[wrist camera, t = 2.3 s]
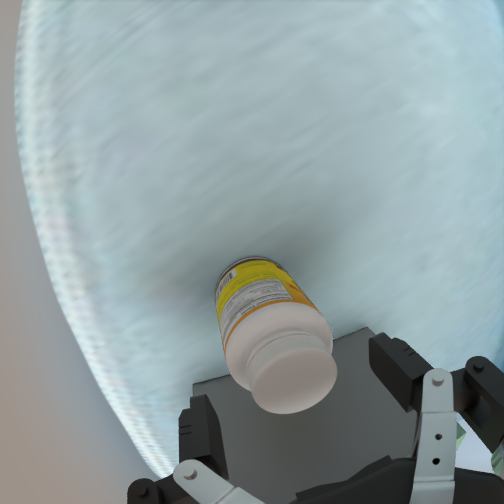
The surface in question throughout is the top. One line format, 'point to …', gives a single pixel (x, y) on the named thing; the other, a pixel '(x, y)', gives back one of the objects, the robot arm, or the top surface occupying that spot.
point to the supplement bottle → (274, 337)
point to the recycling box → (312, 429)
